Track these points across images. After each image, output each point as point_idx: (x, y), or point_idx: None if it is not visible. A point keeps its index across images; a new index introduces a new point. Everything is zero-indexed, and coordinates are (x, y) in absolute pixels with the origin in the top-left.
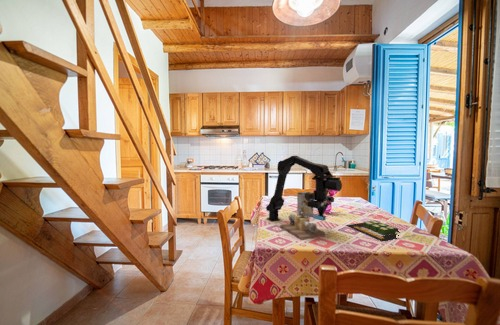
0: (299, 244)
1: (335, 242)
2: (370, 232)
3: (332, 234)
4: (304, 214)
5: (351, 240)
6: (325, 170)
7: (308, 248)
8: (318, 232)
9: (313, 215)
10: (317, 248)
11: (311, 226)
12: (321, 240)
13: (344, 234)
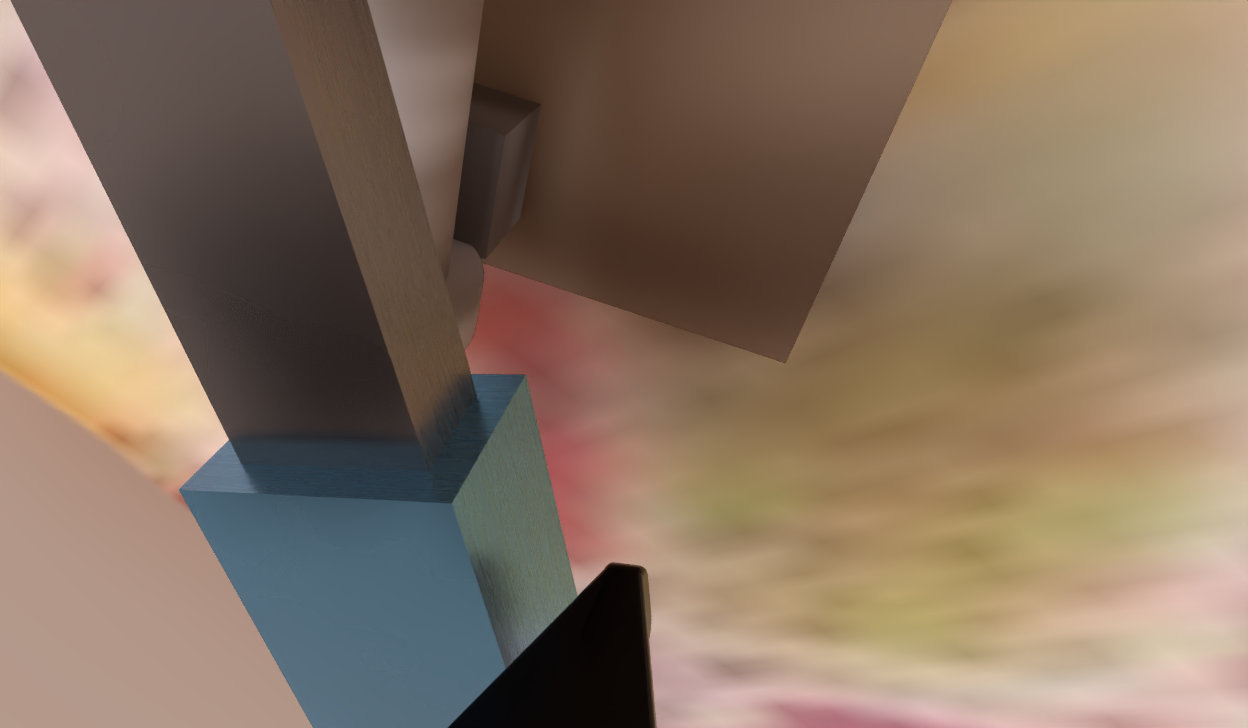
0: (14, 206)
1: (605, 556)
2: None
3: (952, 414)
4: None
5: (886, 688)
6: None
7: (85, 373)
8: (641, 255)
9: (204, 477)
10: (206, 454)
11: None
12: None
13: (1133, 571)
